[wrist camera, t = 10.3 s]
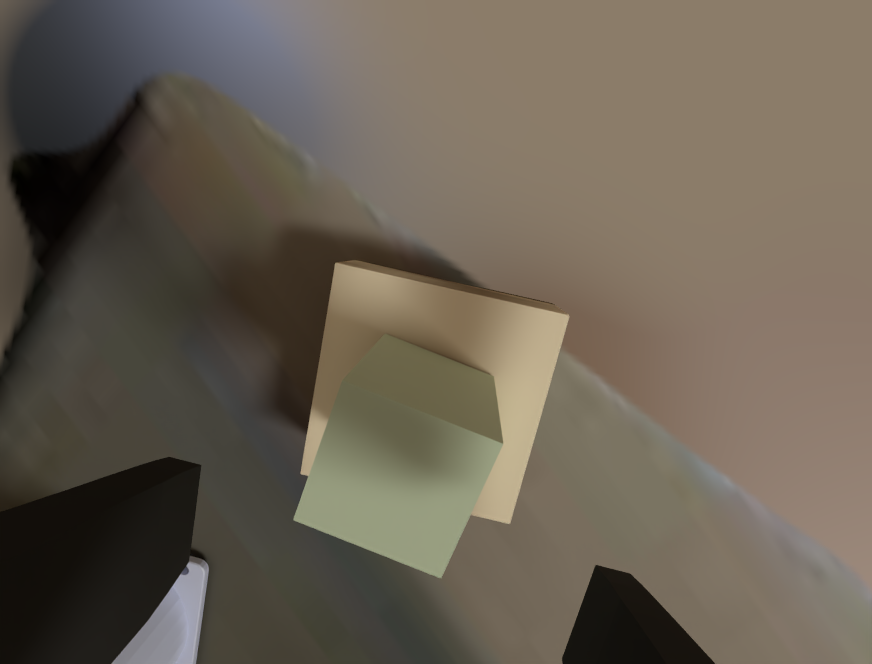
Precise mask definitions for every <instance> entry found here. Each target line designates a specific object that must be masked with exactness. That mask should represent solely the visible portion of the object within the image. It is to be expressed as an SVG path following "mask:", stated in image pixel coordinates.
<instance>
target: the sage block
mask: <svg viewBox="0 0 872 664" xmlns="http://www.w3.org/2000/svg"><path fill="white" fill-rule="evenodd" d="M502 446H503V437H502V430H501V423H500V416H499V409H498V402H497V395H496V387H495V380H494V376H492V375H489V374H487V373H484V372H482V371H479V370H477V369H474V368H471V367H469V366H466V365H464V364H461V363H459V362H456V361H454V360H451V359H449V358H446V357H444V356H441V355H439V354H436V353H433V352H431V351H428V350H426V349H423V348H421V347H418V346H416V345H413V344H411V343H408V342H406V341H403V340H401V339H398V338H396V337H393V336H390V335H388V334H384V335H383V336H382V337H381V339H380V340H379V341H378V342H377V343H376V344H375V345H374V346H373V347H372V348H371V349H370V351H369V352H368V353H367V354H366V355H365V356H364V357H363V358H362V359H361V360H360V361H359V363H358V364H357V365H356V366H355V367H354V368H353V369H352V370H351V371H350V372H349V373H348V374H347V376H346V377H345V378H344V379H343V380H342V382H341V385H340V388H339V391H338V394H337V397H336V399H335V402H334V405H333V408H332V411H331V414H330V417H329V419H328V422H327V425H326V428H325V431H324V434H323V437H322V439H321V442H320V445H319V448H318V451H317V454H316V457H315V459H314V462H313V465H312V468H311V471H310V474H309V477H308V479H307V482H306V485H305V488H304V491H303V494H302V497H301V499H300V502H299V505H298V508H297V511H296V514H295V517H294V519H293V520H295V521H297V522H300V523H302V524H305V525H307V526H310V527H312V528H315V529H317V530H320V531H322V532H325V533H327V534H330V535H333V536H335V537H338V538H340V539H343V540H345V541H348V542H350V543H353V544H355V545H358V546H360V547H363V548H365V549H368V550H370V551H373V552H375V553H378V554H381V555H383V556H386V557H388V558H391V559H393V560H396V561H398V562H401V563H403V564H406V565H408V566H411V567H413V568H416V569H418V570H421V571H423V572H426V573H429V574H431V575H434V576H436V577H439V578H441V577H442V575H443V573H444V571H445V569H446V567H447V565H448V562H449V560H450V558H451V556H452V554H453V552H454V549H455V547H456V545H457V543H458V541H459V539H460V536H461V534H462V532H463V530H464V528H465V526H466V524H467V521H468V519H469V517H470V515H471V513H472V511H473V508H474V506H475V504H476V502H477V500H478V498H479V496H480V493H481V491H482V489H483V487H484V485H485V483H486V480H487V478H488V476H489V474H490V472H491V470H492V467H493V465H494V463H495V461H496V459H497V457H498V455H499V452H500V450H501V448H502Z"/></svg>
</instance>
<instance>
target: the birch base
mask: <svg viewBox="0 0 872 664" xmlns="http://www.w3.org/2000/svg"><path fill="white" fill-rule="evenodd" d="M569 316H570V315H568V314H567V313H565V312H564V311H563V310H561V309H560V308H559V307H557V306H556V305H554V304H553V303H549V302H545V301H540V300H536V299H531V298H527V297H523V296H518V295H514V294H509V293H505V292H500V291H496V290H491V289H487V288H485V289H483V288H478V287H474V286H469V285H465V284H460V283H456V282H451V281H447V280H443V279H438V278H434V277H429V276H425V275H420V274H416V273H411V272H407V271H402V270H398V269H394V268H389V267H385V266H380V265H376V264H371V263H367V262H362V261H358V260H351V261H344V262H337V263H335V268H334V274H333V280H332V286H331V292H330V298H329V304H328V311H327V317H326V323H325V329H324V335H323V341H322V347H321V353H320V359H319V365H318V371H317V377H316V383H315V389H314V395H313V401H312V407H311V413H310V419H309V425H308V431H307V438H306V444H305V450H304V456H303V462H302V468H301V474H303V475H307V476H309V474H310V471H311V468H312V465H313V462H314V459H315V457H316V454H317V451H318V448H319V445H320V442H321V439H322V437H323V434H324V431H325V428H326V425H327V422H328V419H329V417H330V414H331V411H332V408H333V405H334V402H335V399H336V397H337V394H338V391H339V388H340V385H341V382H342V380H343V379H344V378H345V377H346V376H347V374H348V373H349V372H350V371H351V370H352V369H353V368H354V367H355V366H356V365H357V364H358V363H359V361H360V360H361V359H362V358H363V357H364V356H365V355H366V354H367V353H368V352H369V351H370V349H371V348H372V347H373V346H374V345H375V344H376V343H377V342H378V341H379V340H380V339H381V337H382V336H383V335H384V334H388V335H390V336H393V337H396V338H398V339H401V340H403V341H406V342H408V343H411V344H413V345H416V346H418V347H421V348H423V349H426V350H428V351H431V352H433V353H436V354H439V355H441V356H444V357H446V358H449V359H451V360H454V361H456V362H459V363H461V364H464V365H466V366H469V367H471V368H474V369H477V370H479V371H482V372H484V373H487V374H489V375H492V376H494V380H495V387H496V395H497V402H498V409H499V416H500V423H501V430H502V437H503V446H502V448H501V450H500V452H499V455H498V457H497V459H496V461H495V463H494V465H493V467H492V470H491V472H490V474H489V476H488V478H487V480H486V483H485V485H484V487H483V489H482V491H481V493H480V496H479V498H478V500H477V502H476V504H475V506H474V508H473V511H472V513H471V515H474V516H478V517H482V518H487V519H491V520H495V521H499V522H503V523H507V524H510V522H511V518H512V515H513V511H514V508H515V504H516V501H517V497H518V494H519V490H520V487H521V483H522V480H523V476H524V473H525V469H526V466H527V462H528V459H529V455H530V452H531V449H532V445H533V442H534V438H535V435H536V431H537V428H538V424H539V421H540V417H541V414H542V410H543V407H544V403H545V400H546V396H547V393H548V389H549V386H550V382H551V379H552V375H553V372H554V368H555V365H556V361H557V358H558V354H559V351H560V347H561V344H562V340H563V337H564V333H565V330H566V326H567V323H568V319H569Z"/></svg>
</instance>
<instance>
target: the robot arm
mask: <svg viewBox="0 0 872 664" xmlns="http://www.w3.org/2000/svg"><path fill="white" fill-rule="evenodd" d="M200 471H201V465H199V464H195V463H191V462H187V461H183V460H179V459H175V458H171V457H167V458H163V459H159V460H155V461H152V462H149V463H146V464H142V465H139V466H136V467H133V468H130V469H127V470H124V471H121V472H118V473H115V474H112V475H109V476H106V477H103V478H100V479H98V480H95V481H92V482H89V483H86V484H83V485H80V486H77V487H74V488H71V489H68V490H65V491H62V492H59V493H56V494H53V495H50V496H48V497H45V498H42V499H39V500H36V501H33V502H30V503H27V504H24V505H21V506H18V507H15V508H12V509H9V510H5V511H2V512H0V664H196V659H197V652H198V644H199V637H200V630H201V623H202V616H203V608H204V601H205V594H206V587H207V579H208V572H209V566H208V565H207V563H206V562H205V561H204V560H202V559H200V558H196V557H193V556H190V551H191V543H192V535H193V527H194V519H195V511H196V503H197V495H198V487H199V479H200ZM186 567H187V568H186ZM562 662H563V664H715V663H714V662H713V661H712V660H711V659H710V657H709V656H708V655H707V654H706V653H705V652H704V651H703V650H702V649H701V648H700V647H699V646H698V644H697V643H696V642H695V641H694V640H693V639H692V638H691V637H690V636H689V635H688V634H687V633H686V631H685V630H684V629H683V628H682V627H681V626H680V625H679V624H678V623H677V622H676V621H675V620H674V618H673V617H672V616H671V615H670V614H669V613H668V612H667V611H666V610H665V609H664V608H663V607H662V606H661V604H660V603H659V602H658V601H657V600H656V599H655V598H654V597H653V596H652V595H651V594H650V593H649V592H648V591H647V590H646V589H645V588H644V587H643V586H642V585H641V584H640V583H639V582H638V581H637V580H636V579H635V578H634V577H633V576H632V575H631V574H630V573H626V572H622V571H618V570H614V569H610V568H606V567H602V566H598V565H596V566H595V568H594V571H593V574H592V577H591V579H590V582H589V585H588V588H587V591H586V593H585V596H584V599H583V602H582V605H581V607H580V610H579V613H578V616H577V618H576V621H575V624H574V627H573V630H572V632H571V635H570V638H569V641H568V644H567V646H566V649H565V652H564V655H563V657H562Z"/></svg>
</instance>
